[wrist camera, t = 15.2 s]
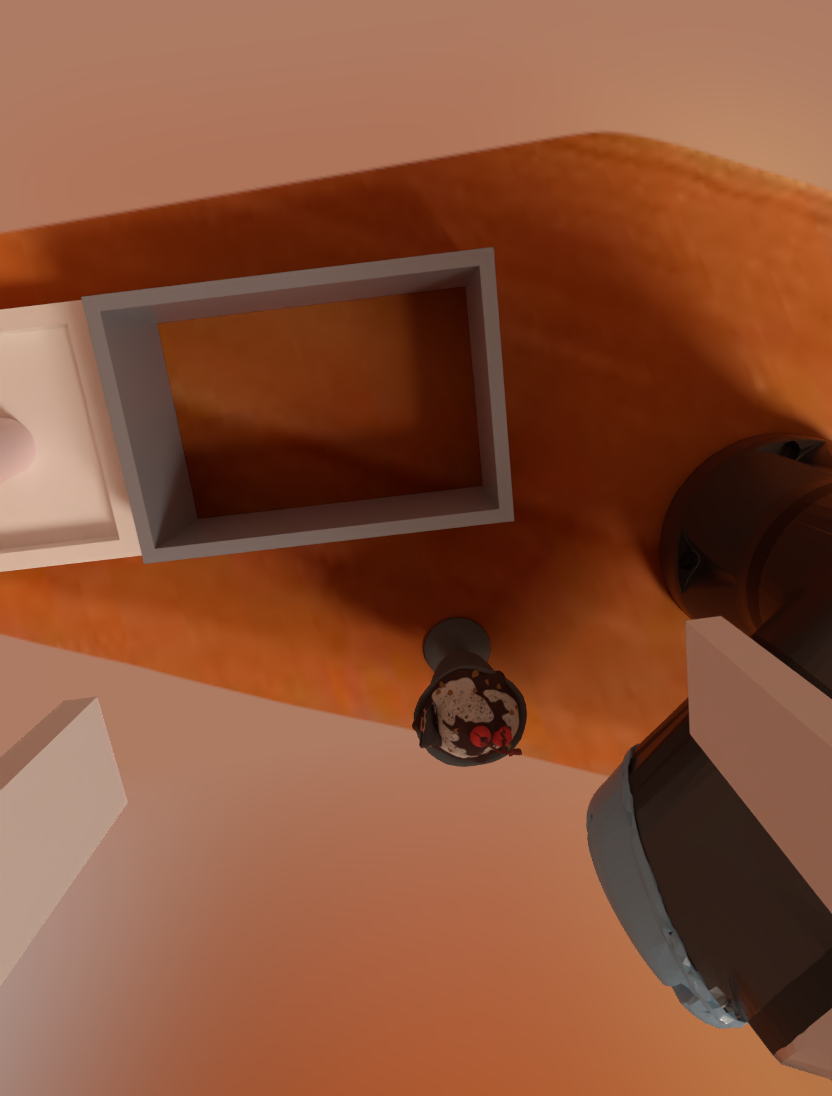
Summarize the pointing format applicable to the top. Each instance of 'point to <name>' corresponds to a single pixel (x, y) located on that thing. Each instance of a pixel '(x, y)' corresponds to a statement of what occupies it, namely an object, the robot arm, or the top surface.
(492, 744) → the sundae
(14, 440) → the smoothie
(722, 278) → the top surface
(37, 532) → the tray
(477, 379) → the deep bin
